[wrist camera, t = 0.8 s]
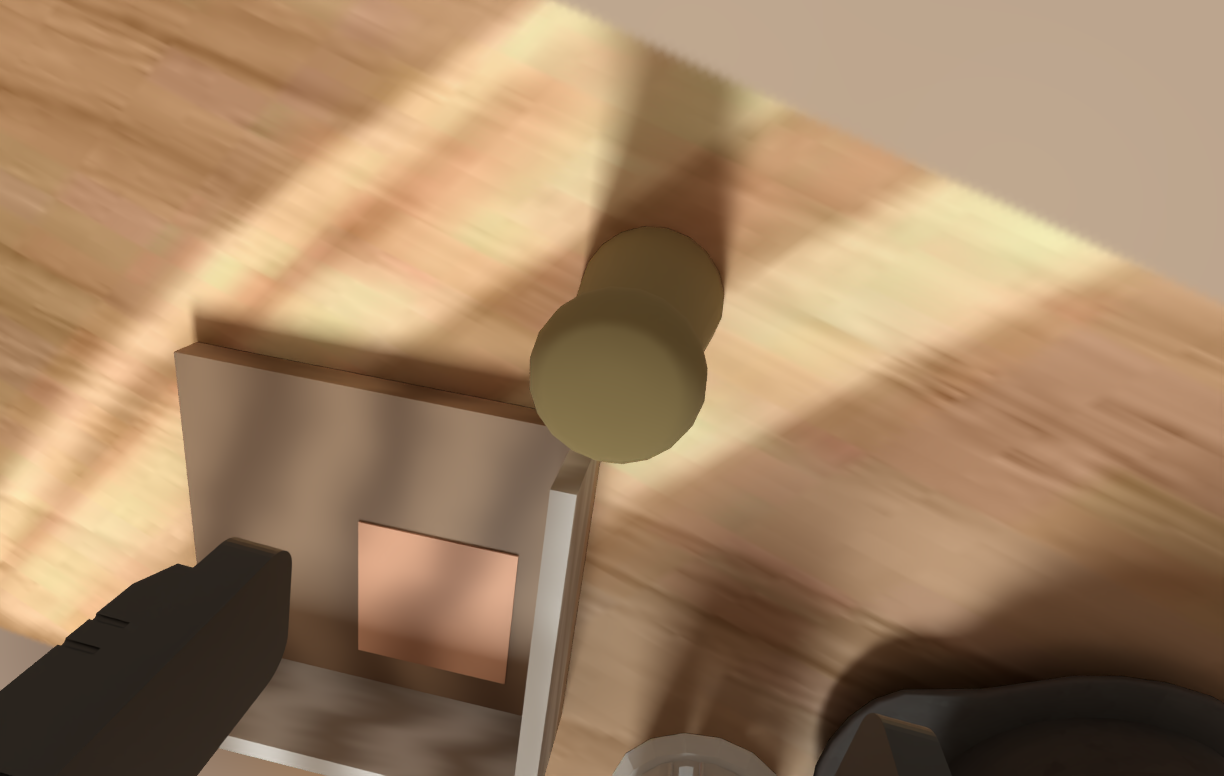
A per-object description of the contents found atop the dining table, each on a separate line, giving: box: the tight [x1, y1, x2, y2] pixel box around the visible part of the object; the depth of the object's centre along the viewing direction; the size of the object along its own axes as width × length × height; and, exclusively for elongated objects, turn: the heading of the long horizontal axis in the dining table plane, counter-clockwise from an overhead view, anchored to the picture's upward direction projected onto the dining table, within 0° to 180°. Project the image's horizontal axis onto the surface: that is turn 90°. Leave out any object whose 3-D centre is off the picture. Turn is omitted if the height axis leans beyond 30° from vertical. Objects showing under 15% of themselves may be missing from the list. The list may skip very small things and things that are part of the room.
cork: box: [530, 226, 724, 464], centre depth 24 cm, size 6×6×11 cm
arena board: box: [174, 342, 600, 776], centre depth 32 cm, size 20×18×6 cm
